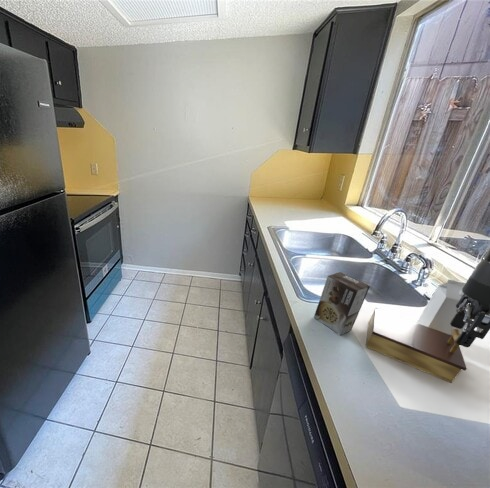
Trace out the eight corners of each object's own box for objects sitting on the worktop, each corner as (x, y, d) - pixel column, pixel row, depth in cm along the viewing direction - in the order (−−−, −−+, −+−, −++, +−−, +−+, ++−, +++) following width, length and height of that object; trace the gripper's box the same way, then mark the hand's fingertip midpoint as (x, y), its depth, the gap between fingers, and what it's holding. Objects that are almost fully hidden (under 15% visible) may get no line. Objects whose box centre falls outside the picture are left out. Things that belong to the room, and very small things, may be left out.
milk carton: (415, 324, 84) (444, 273, 76) (445, 332, 80) (478, 281, 73) (421, 337, 78) (453, 285, 70) (453, 347, 75) (490, 293, 67)
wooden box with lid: (443, 350, 74) (451, 338, 72) (451, 383, 64) (461, 369, 62) (368, 322, 83) (374, 310, 81) (365, 346, 74) (371, 333, 72)
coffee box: (352, 329, 80) (372, 286, 73) (339, 335, 77) (358, 291, 71) (325, 312, 87) (340, 271, 81) (312, 316, 85) (327, 274, 78)
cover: (455, 339, 71) (464, 324, 69) (465, 370, 61) (477, 355, 59) (374, 310, 81) (380, 296, 79) (371, 333, 72) (379, 319, 70)
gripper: (533, 302, 52) (487, 360, 58) (509, 275, 62) (473, 327, 68) (479, 287, 56) (442, 343, 62) (465, 264, 66) (434, 315, 73)
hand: (458, 335), depth 65 cm, fingers open, 8 cm apart
